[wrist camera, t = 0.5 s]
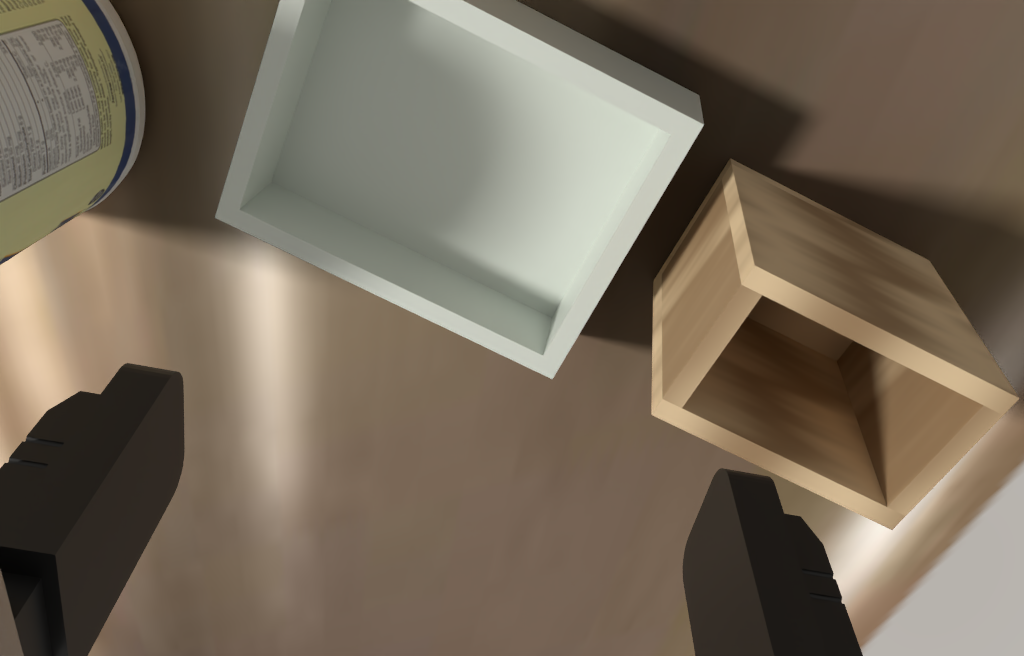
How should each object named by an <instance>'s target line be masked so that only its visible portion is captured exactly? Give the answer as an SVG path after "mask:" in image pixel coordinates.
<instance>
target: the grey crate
mask: <svg viewBox="0 0 1024 656" xmlns="http://www.w3.org/2000/svg"><path fill="white" fill-rule="evenodd" d="M703 126H704V121H703V115H702V109H701V102H700V96H699V95H698V94H696V93H694V92H692V91H690V90H688V89H686V88H684V87H682V86H680V85H678V84H677V83H675V82H673V81H671V80H669V79H667V78H665V77H663V76H661V75H659V74H657V73H655V72H653V71H651V70H650V69H648V68H646V67H644V66H642V65H640V64H638V63H636V62H634V61H632V60H630V59H628V58H626V57H624V56H623V55H621V54H619V53H617V52H615V51H613V50H611V49H609V48H607V47H605V46H603V45H601V44H599V43H597V42H595V41H594V40H592V39H590V38H588V37H586V36H584V35H582V34H580V33H578V32H576V31H574V30H572V29H570V28H568V27H567V26H565V25H563V24H561V23H559V22H557V21H555V20H553V19H551V18H549V17H547V16H545V15H543V14H541V13H540V12H538V11H536V10H534V9H532V8H530V7H528V6H526V5H524V4H522V3H520V2H518V1H516V0H280V2H279V5H278V8H277V12H276V15H275V18H274V22H273V25H272V28H271V32H270V35H269V38H268V42H267V45H266V48H265V52H264V55H263V58H262V62H261V65H260V68H259V72H258V75H257V78H256V82H255V85H254V88H253V92H252V95H251V98H250V102H249V105H248V108H247V112H246V115H245V118H244V122H243V125H242V128H241V132H240V135H239V138H238V142H237V145H236V148H235V152H234V155H233V158H232V162H231V165H230V168H229V172H228V175H227V178H226V182H225V185H224V188H223V192H222V195H221V198H220V202H219V205H218V208H217V212H216V215H215V218H216V219H218V220H220V221H222V222H225V223H227V224H229V225H231V226H233V227H235V228H237V229H239V230H241V231H243V232H245V233H248V234H250V235H252V236H254V237H256V238H258V239H260V240H262V241H264V242H266V243H268V244H271V245H273V246H275V247H277V248H279V249H281V250H283V251H285V252H287V253H289V254H291V255H294V256H296V257H298V258H300V259H302V260H304V261H306V262H308V263H310V264H312V265H314V266H317V267H319V268H321V269H323V270H325V271H327V272H329V273H331V274H333V275H335V276H337V277H340V278H342V279H344V280H346V281H348V282H350V283H352V284H354V285H356V286H358V287H360V288H363V289H365V290H367V291H369V292H371V293H373V294H375V295H377V296H379V297H381V298H383V299H386V300H388V301H390V302H392V303H394V304H396V305H398V306H400V307H402V308H404V309H407V310H409V311H411V312H413V313H415V314H417V315H419V316H421V317H423V318H425V319H427V320H430V321H432V322H434V323H436V324H438V325H440V326H442V327H444V328H446V329H448V330H450V331H453V332H455V333H457V334H459V335H461V336H463V337H465V338H467V339H469V340H471V341H473V342H476V343H478V344H480V345H482V346H484V347H486V348H488V349H490V350H492V351H494V352H496V353H499V354H501V355H503V356H505V357H507V358H509V359H511V360H513V361H515V362H517V363H519V364H522V365H524V366H526V367H528V368H530V369H532V370H534V371H536V372H538V373H540V374H542V375H545V376H547V377H549V378H551V379H553V377H554V376H555V374H556V372H557V371H558V369H559V367H560V366H561V364H562V362H563V361H564V359H565V357H566V356H567V354H568V352H569V350H570V349H571V347H572V345H573V344H574V342H575V340H576V339H577V337H578V335H579V334H580V332H581V330H582V329H583V327H584V325H585V324H586V322H587V320H588V319H589V317H590V315H591V314H592V312H593V310H594V309H595V307H596V305H597V304H598V302H599V300H600V298H601V297H602V295H603V293H604V292H605V290H606V288H607V287H608V285H609V283H610V282H611V280H612V278H613V277H614V275H615V273H616V272H617V270H618V268H619V267H620V265H621V263H622V262H623V260H624V258H625V257H626V255H627V253H628V252H629V250H630V248H631V246H632V245H633V243H634V241H635V240H636V238H637V236H638V235H639V233H640V231H641V230H642V228H643V226H644V225H645V223H646V221H647V220H648V218H649V216H650V215H651V213H652V211H653V210H654V208H655V206H656V205H657V203H658V201H659V200H660V198H661V196H662V194H663V193H664V191H665V189H666V188H667V186H668V184H669V183H670V181H671V179H672V178H673V176H674V174H675V173H676V171H677V169H678V168H679V166H680V164H681V163H682V161H683V159H684V158H685V156H686V154H687V153H688V151H689V149H690V148H691V146H692V144H693V143H694V141H695V139H696V137H697V136H698V134H699V132H700V131H701V129H702V127H703Z"/></svg>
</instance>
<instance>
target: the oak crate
mask: <svg viewBox="0 0 1024 656" xmlns="http://www.w3.org/2000/svg"><path fill="white" fill-rule="evenodd" d="M1019 399H1020V398H1019V397H1018V395H1017V394H1016V392H1015V391H1014V389H1013V387H1012V386H1011V384H1010V383H1009V381H1008V380H1007V378H1006V377H1005V375H1004V374H1003V372H1002V371H1001V369H1000V368H999V366H998V365H997V363H996V361H995V360H994V358H993V357H992V355H991V354H990V352H989V351H988V349H987V348H986V346H985V345H984V343H983V342H982V340H981V339H980V337H979V336H978V334H977V332H976V331H975V329H974V328H973V326H972V325H971V323H970V322H969V320H968V319H967V317H966V316H965V314H964V313H963V311H962V310H961V308H960V306H959V305H958V303H957V302H956V300H955V299H954V297H953V296H952V294H951V293H950V291H949V290H948V288H947V287H946V285H945V284H944V282H943V281H942V279H941V277H940V276H939V274H938V273H937V271H936V270H935V268H934V267H933V265H932V264H931V262H930V261H929V260H928V259H926V258H924V257H922V256H920V255H918V254H916V253H914V252H912V251H910V250H908V249H906V248H904V247H902V246H900V245H898V244H896V243H894V242H892V241H890V240H889V239H887V238H885V237H883V236H881V235H879V234H877V233H875V232H873V231H871V230H869V229H867V228H865V227H863V226H861V225H859V224H857V223H855V222H853V221H851V220H850V219H848V218H846V217H844V216H842V215H840V214H838V213H836V212H834V211H832V210H830V209H828V208H826V207H824V206H822V205H820V204H818V203H816V202H814V201H812V200H811V199H809V198H807V197H805V196H803V195H801V194H799V193H797V192H795V191H793V190H791V189H789V188H787V187H785V186H783V185H781V184H779V183H777V182H775V181H774V180H772V179H770V178H768V177H766V176H764V175H762V174H760V173H758V172H756V171H754V170H752V169H750V168H748V167H746V166H744V165H742V164H740V163H738V162H736V161H735V160H733V159H731V158H730V159H729V161H728V163H727V164H726V166H725V167H724V169H723V170H722V172H721V174H720V175H719V177H718V178H717V180H716V182H715V183H714V185H713V186H712V188H711V190H710V191H709V193H708V194H707V196H706V198H705V199H704V201H703V202H702V204H701V206H700V207H699V209H698V210H697V212H696V214H695V215H694V217H693V218H692V220H691V222H690V223H689V225H688V226H687V228H686V230H685V231H684V233H683V234H682V236H681V238H680V239H679V241H678V242H677V244H676V246H675V247H674V249H673V250H672V252H671V253H670V255H669V257H668V258H667V260H666V261H665V263H664V265H663V266H662V268H661V269H660V271H659V273H658V274H657V276H656V277H655V279H654V281H653V341H652V415H653V416H655V417H657V418H659V419H662V420H664V421H666V422H668V423H670V424H672V425H674V426H676V427H678V428H680V429H682V430H684V431H687V432H689V433H691V434H693V435H695V436H697V437H699V438H701V439H703V440H705V441H707V442H710V443H712V444H714V445H716V446H718V447H720V448H722V449H724V450H726V451H728V452H730V453H732V454H735V455H737V456H739V457H741V458H743V459H745V460H747V461H749V462H751V463H753V464H755V465H758V466H760V467H762V468H764V469H766V470H768V471H770V472H772V473H774V474H776V475H778V476H780V477H783V478H785V479H787V480H789V481H791V482H793V483H795V484H797V485H799V486H801V487H803V488H806V489H808V490H810V491H812V492H814V493H816V494H818V495H820V496H822V497H824V498H826V499H829V500H831V501H833V502H835V503H837V504H839V505H841V506H843V507H845V508H847V509H849V510H851V511H854V512H856V513H858V514H860V515H862V516H864V517H866V518H868V519H870V520H872V521H874V522H877V523H879V524H881V525H883V526H885V527H887V528H889V529H891V530H893V529H894V528H895V527H896V525H897V524H898V523H899V522H900V521H901V520H902V519H903V518H904V517H905V516H906V515H907V514H908V513H909V512H910V511H911V510H912V509H913V508H914V507H915V506H916V505H917V504H918V503H919V502H920V501H921V500H922V499H923V498H924V497H925V496H926V495H927V493H928V492H929V491H930V490H931V489H932V488H933V487H934V486H935V485H936V484H937V483H938V482H939V481H940V480H941V479H942V478H943V477H944V476H945V475H946V474H947V473H948V472H949V471H950V470H951V469H952V468H953V467H954V466H955V465H956V464H957V463H958V462H959V460H960V459H961V458H962V457H963V456H964V455H965V454H966V453H967V452H968V451H969V450H970V449H971V448H972V447H973V446H974V445H975V444H976V443H977V442H978V441H979V440H980V439H981V438H982V437H983V436H984V435H985V434H986V433H987V432H988V431H989V430H990V428H991V427H992V426H993V425H994V424H995V423H996V422H997V421H998V420H999V419H1000V418H1001V417H1002V416H1003V415H1004V414H1005V413H1006V412H1007V411H1008V410H1009V409H1010V408H1011V407H1012V406H1013V405H1014V404H1015V403H1016V402H1017V401H1018V400H1019Z"/></svg>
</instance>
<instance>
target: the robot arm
mask: <svg viewBox="0 0 1024 656" xmlns="http://www.w3.org/2000/svg"><path fill="white" fill-rule="evenodd" d="M183 461H184V393H183V378H182V375H181V374H180V373H179V372H176V371H170V370H164V369H159V368H153V367H147V366H141V365H136V364H130V363H127V364H124V365H123V366H122V367H121V368H120V369H119V370H118V372H117V373H116V374H115V376H114V377H113V378H112V380H111V381H110V383H109V384H108V385H107V387H106V388H105V389H104V391H103V392H102V393H101V395H100V394H94V393H89V392H83V391H80V392H78V393H76V394H75V395H73V396H71V397H70V398H68V399H66V400H65V401H63V402H61V403H60V404H58V405H56V406H55V407H53V408H51V409H50V410H48V411H47V412H46V413H45V414H44V416H43V417H42V418H41V419H40V420H39V422H38V423H37V424H36V425H35V427H34V428H33V429H32V430H31V432H30V433H29V434H28V435H27V438H26V441H25V442H22V443H21V444H20V445H19V446H18V448H17V449H16V450H15V451H14V453H13V454H12V455H11V456H10V457H9V462H8V463H5V464H4V465H3V466H2V467H1V469H0V656H88V654H89V652H90V650H91V648H92V646H93V644H94V642H95V641H96V639H97V637H98V635H99V633H100V631H101V629H102V628H103V626H104V624H105V622H106V620H107V618H108V616H109V615H110V613H111V611H112V609H113V607H114V605H115V603H116V601H117V600H118V598H119V596H120V594H121V592H122V590H123V588H124V587H125V585H126V583H127V581H128V579H129V577H130V575H131V573H132V572H133V570H134V568H135V566H136V564H137V562H138V560H139V559H140V557H141V555H142V553H143V551H144V549H145V547H146V546H147V544H148V542H149V540H150V538H151V536H152V534H153V532H154V531H155V529H156V527H157V525H158V523H159V521H160V519H161V518H162V516H163V514H164V512H165V510H166V508H167V506H168V505H169V503H170V501H171V499H172V497H173V495H174V493H175V491H176V488H177V486H178V483H179V479H180V476H181V472H182V467H183ZM683 582H684V588H685V594H686V600H687V607H688V613H689V619H690V625H691V631H692V637H693V643H694V649H695V655H696V656H863V655H862V652H861V649H860V647H859V644H858V641H857V638H856V635H855V633H854V630H853V627H852V624H851V621H850V619H849V616H848V613H847V610H846V607H845V605H844V604H842V603H841V600H842V596H841V593H840V591H839V588H838V585H837V582H836V580H835V579H833V571H832V568H831V565H830V563H829V560H828V557H827V554H826V551H825V549H824V546H823V544H822V543H821V541H820V540H819V539H818V538H817V536H816V535H815V534H814V533H813V531H812V530H811V529H810V528H809V526H808V525H807V524H806V523H805V522H804V520H803V519H802V518H801V517H800V516H794V515H789V514H784V512H783V509H782V506H781V503H780V499H779V496H778V493H777V490H776V487H775V484H774V482H773V480H772V479H771V478H770V477H768V476H763V475H757V474H751V473H745V472H740V471H734V470H728V469H723V468H722V469H719V470H718V471H717V472H716V474H715V475H714V477H713V479H712V482H711V484H710V487H709V489H708V491H707V494H706V496H705V499H704V501H703V503H702V506H701V508H700V511H699V513H698V516H697V518H696V520H695V523H694V525H693V528H692V530H691V532H690V535H689V537H688V540H687V543H686V547H685V552H684V559H683Z"/></svg>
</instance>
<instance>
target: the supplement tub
mask: <svg viewBox="0 0 1024 656" xmlns="http://www.w3.org/2000/svg"><path fill="white" fill-rule="evenodd" d="M144 126H145V92H144V85H143V79H142V73H141V70H140V66H139V62H138V59H137V55H136V52H135V50H134V47H133V45H132V42H131V40H130V37H129V35H128V33H127V31H126V29H125V26H124V25H123V23H122V21H121V19H120V17H119V15H118V14H117V12H116V11H115V9H114V7H113V6H112V4H111V3H110V1H109V0H0V265H1V264H2V263H4V262H6V261H7V260H9V259H10V258H12V257H13V256H15V255H16V254H18V253H19V252H21V251H23V250H24V249H26V248H27V247H29V246H30V245H32V244H34V243H35V242H37V241H38V240H40V239H42V238H43V237H45V236H46V235H48V234H50V233H51V232H53V231H54V230H56V229H57V228H59V227H61V226H62V225H64V224H65V223H67V222H68V221H70V220H72V219H73V218H75V217H76V216H78V215H80V214H81V213H83V212H85V211H87V210H89V209H91V208H93V207H95V206H96V205H98V204H99V203H100V202H102V201H103V200H105V199H106V198H107V197H108V196H109V195H110V194H111V193H112V192H113V191H114V190H115V188H116V187H117V186H118V185H119V184H120V183H121V181H122V180H123V179H124V178H125V176H126V175H127V174H128V172H129V171H130V169H131V168H132V166H133V164H134V162H135V160H136V158H137V155H138V153H139V149H140V146H141V142H142V138H143V133H144Z"/></svg>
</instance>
